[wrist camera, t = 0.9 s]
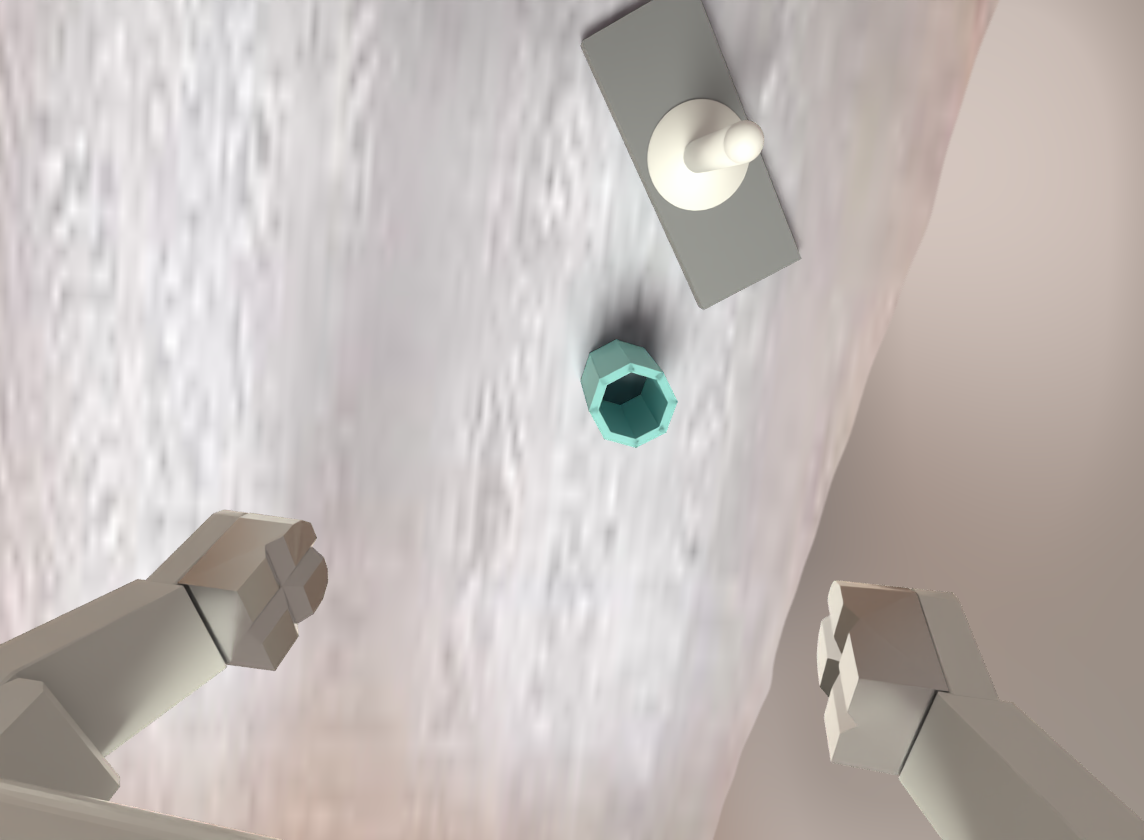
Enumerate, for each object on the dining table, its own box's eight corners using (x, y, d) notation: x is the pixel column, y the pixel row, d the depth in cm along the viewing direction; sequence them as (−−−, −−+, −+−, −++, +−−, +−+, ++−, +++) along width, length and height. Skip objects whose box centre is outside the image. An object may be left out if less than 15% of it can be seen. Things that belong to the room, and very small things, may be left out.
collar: (570, 362, 50) (577, 390, 42) (634, 329, 49) (653, 350, 42) (602, 422, 52) (614, 458, 44) (665, 390, 51) (687, 421, 44)
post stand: (580, 46, 43) (598, -16, 31) (686, -16, 42) (746, -104, 30) (698, 307, 49) (751, 338, 37) (793, 257, 48) (878, 273, 36)
